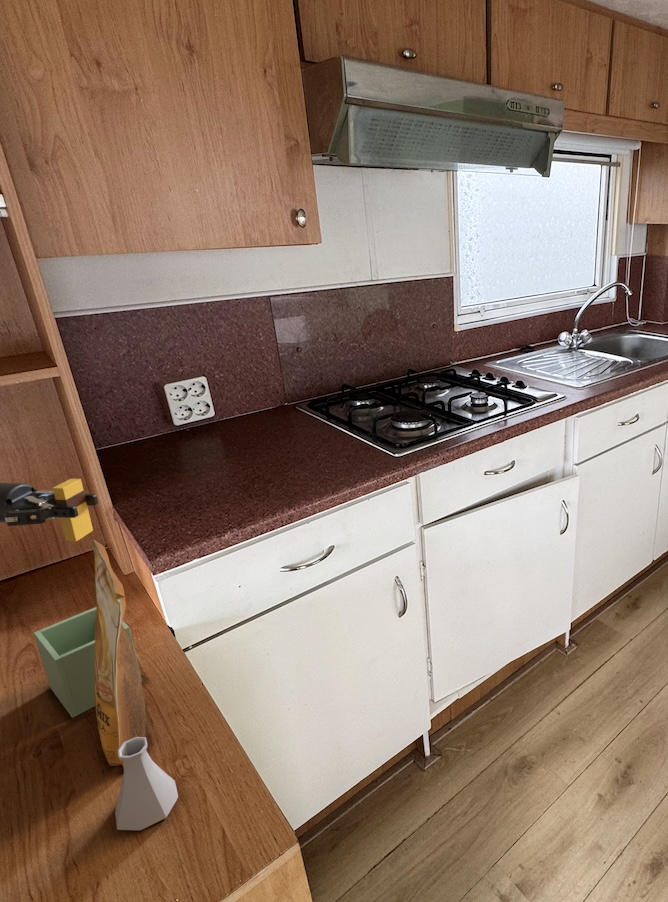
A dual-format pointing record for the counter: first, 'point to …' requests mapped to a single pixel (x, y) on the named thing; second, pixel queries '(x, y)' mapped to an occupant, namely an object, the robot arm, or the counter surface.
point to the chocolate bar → (75, 495)
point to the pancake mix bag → (114, 665)
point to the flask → (142, 788)
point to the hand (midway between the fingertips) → (85, 505)
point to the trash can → (72, 660)
